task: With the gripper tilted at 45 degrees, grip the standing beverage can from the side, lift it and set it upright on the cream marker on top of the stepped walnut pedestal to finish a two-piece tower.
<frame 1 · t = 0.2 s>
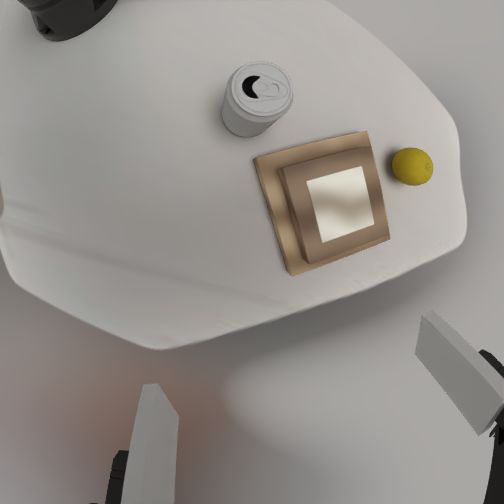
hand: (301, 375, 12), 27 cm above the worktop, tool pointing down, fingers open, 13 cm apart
pedestal: (325, 199, 38), on the worktop
lemon: (395, 166, 38), on the worktop
beverage can: (246, 115, 34), on the worktop
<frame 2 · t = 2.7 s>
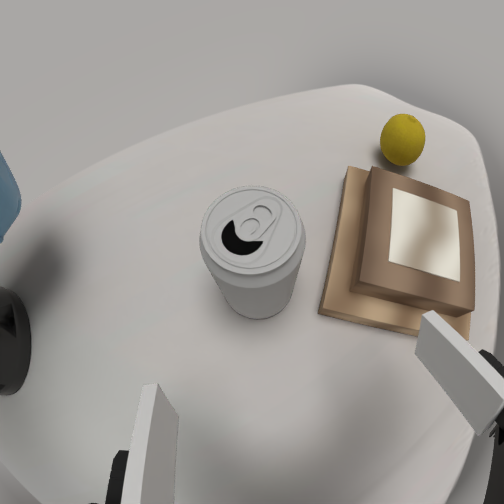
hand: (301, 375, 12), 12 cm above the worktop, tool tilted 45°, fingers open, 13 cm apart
pedestal: (403, 257, 27), on the worktop
lemon: (392, 162, 32), on the worktop
beverage can: (258, 287, 27), on the worktop
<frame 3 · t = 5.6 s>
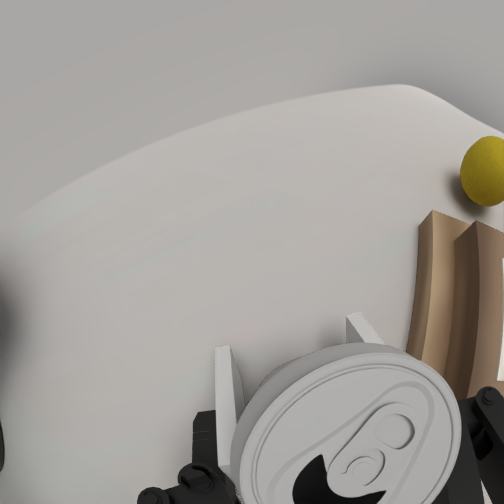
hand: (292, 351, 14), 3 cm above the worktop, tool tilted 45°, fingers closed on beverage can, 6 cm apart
pedestal: (486, 339, 15), on the worktop
lemon: (468, 197, 21), on the worktop
beverage can: (304, 406, 15), on the worktop, touching gripper
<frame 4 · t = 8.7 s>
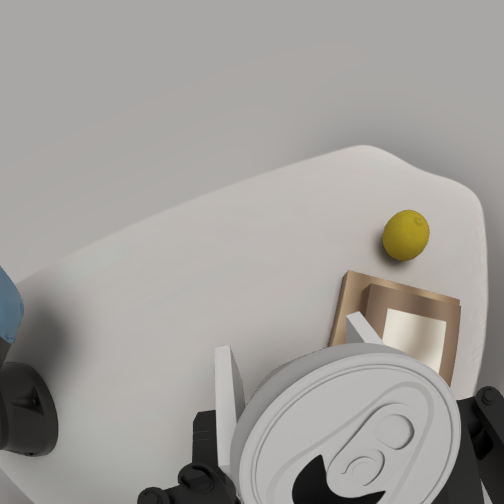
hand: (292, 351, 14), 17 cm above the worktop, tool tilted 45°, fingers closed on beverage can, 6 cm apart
pedestal: (391, 355, 28), on the worktop
lemon: (392, 250, 34), on the worktop
beverage can: (304, 406, 15), point 13 cm above the worktop, touching gripper
when the fingers open (10 cm above the worktop, at t = 11.7 s): beverage can stays where it is, resting on pedestal.
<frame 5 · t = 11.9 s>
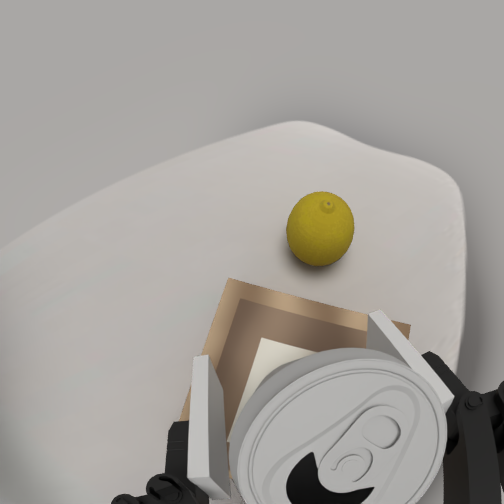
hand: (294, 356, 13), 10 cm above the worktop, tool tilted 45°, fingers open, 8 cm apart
pedestal: (293, 397, 21), on the worktop
lemon: (313, 251, 26), on the worktop
beverage can: (302, 405, 16), point 6 cm above the worktop, touching pedestal
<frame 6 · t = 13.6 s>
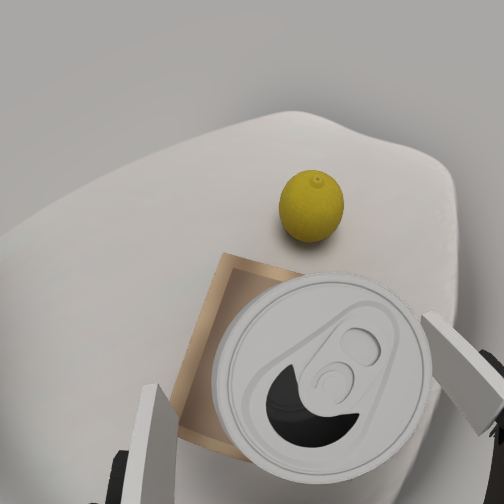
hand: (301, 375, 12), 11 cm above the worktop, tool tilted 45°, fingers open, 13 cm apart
pedestal: (286, 372, 22), on the worktop
lemon: (305, 230, 27), on the worktop
beverage can: (293, 373, 17), point 6 cm above the worktop, touching pedestal
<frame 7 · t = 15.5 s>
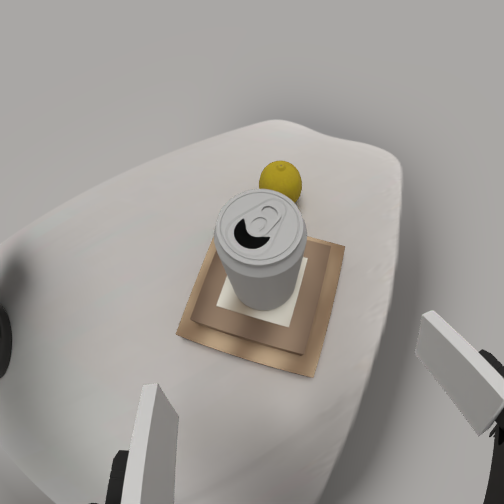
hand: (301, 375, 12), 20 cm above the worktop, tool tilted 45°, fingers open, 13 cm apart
pedestal: (264, 296, 34), on the worktop
lemon: (279, 203, 40), on the worktop
beverage can: (264, 282, 29), point 6 cm above the worktop, touching pedestal
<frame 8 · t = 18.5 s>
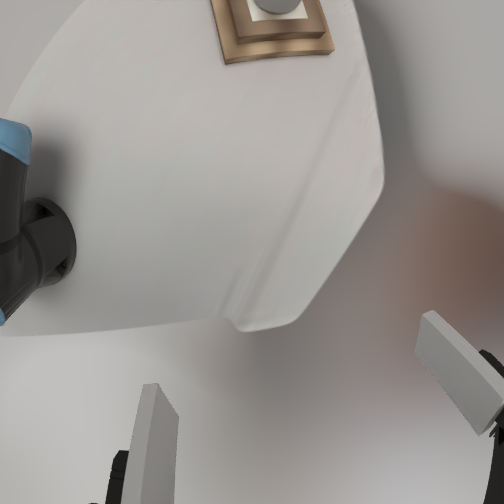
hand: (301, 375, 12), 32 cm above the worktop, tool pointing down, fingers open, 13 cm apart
pedestal: (267, 15, 31), on the worktop
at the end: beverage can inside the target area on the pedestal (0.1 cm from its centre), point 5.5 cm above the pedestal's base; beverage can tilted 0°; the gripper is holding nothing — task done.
